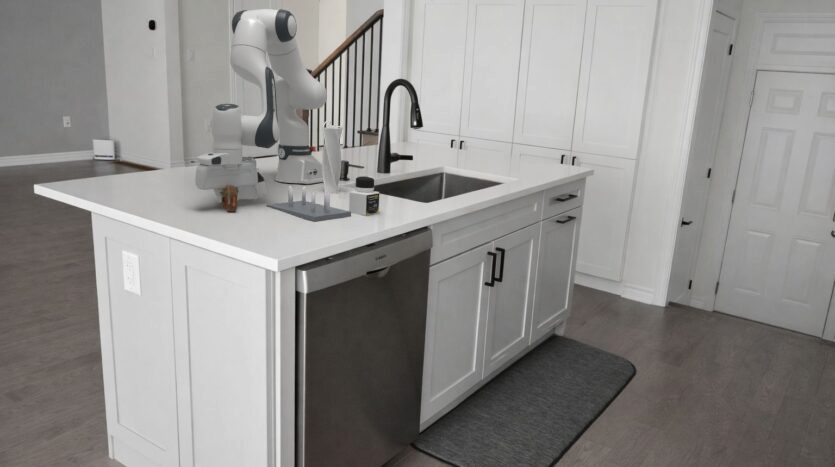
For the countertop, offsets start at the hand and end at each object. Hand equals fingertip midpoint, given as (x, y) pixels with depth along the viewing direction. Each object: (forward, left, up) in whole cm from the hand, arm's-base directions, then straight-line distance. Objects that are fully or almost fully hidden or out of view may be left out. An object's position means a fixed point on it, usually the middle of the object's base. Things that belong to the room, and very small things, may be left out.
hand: (228, 201), depth 197 cm
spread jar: (-15, -10, -3) cm, 18 cm away
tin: (0, 0, -3) cm, 3 cm away
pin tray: (-19, +16, -3) cm, 25 cm away
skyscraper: (-45, -3, -3) cm, 46 cm away
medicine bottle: (-34, +26, -3) cm, 43 cm away
